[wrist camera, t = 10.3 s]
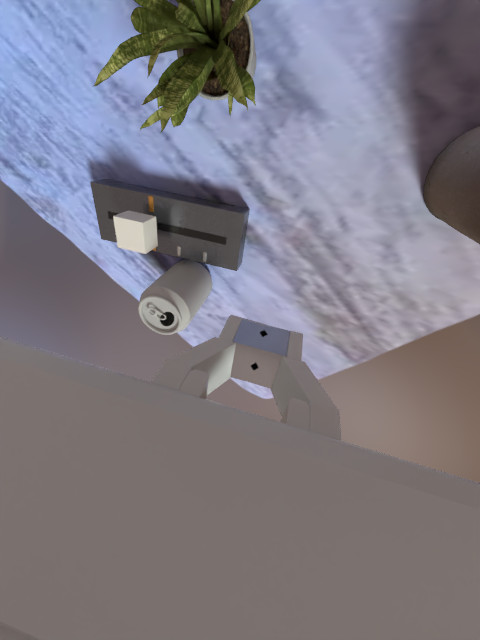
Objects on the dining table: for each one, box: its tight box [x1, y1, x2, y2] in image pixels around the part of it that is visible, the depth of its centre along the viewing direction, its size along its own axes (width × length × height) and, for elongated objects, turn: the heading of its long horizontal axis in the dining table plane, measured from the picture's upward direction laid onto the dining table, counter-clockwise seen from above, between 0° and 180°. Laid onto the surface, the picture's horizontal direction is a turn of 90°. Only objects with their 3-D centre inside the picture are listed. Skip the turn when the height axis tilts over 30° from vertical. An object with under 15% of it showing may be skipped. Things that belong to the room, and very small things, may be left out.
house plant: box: [94, 0, 260, 132], centre depth 20 cm, size 14×14×16 cm
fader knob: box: [113, 210, 158, 254], centre depth 35 cm, size 4×4×5 cm
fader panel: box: [91, 179, 249, 271], centre depth 38 cm, size 8×22×3 cm, turn 82°
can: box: [138, 260, 213, 335], centre depth 39 cm, size 8×8×12 cm
